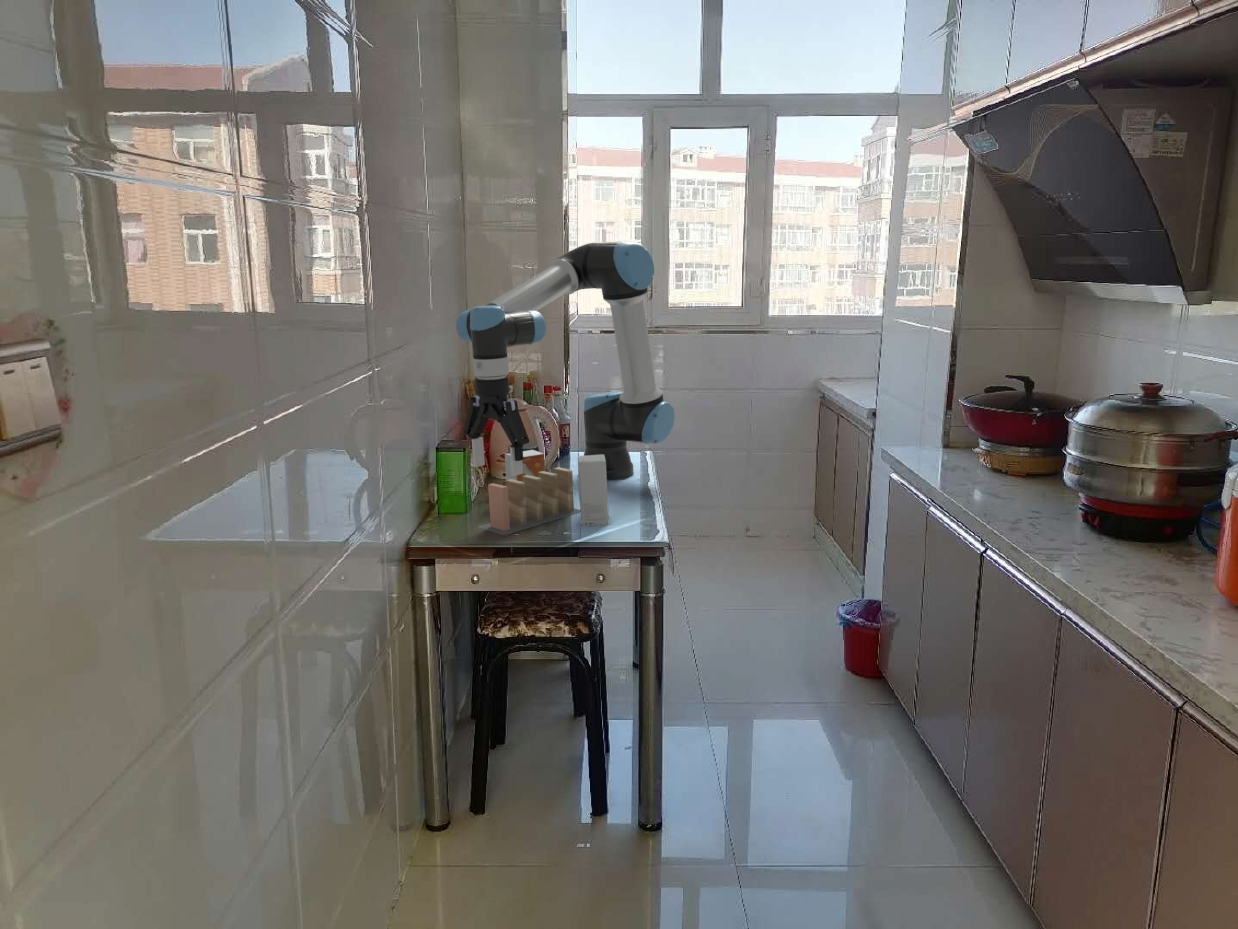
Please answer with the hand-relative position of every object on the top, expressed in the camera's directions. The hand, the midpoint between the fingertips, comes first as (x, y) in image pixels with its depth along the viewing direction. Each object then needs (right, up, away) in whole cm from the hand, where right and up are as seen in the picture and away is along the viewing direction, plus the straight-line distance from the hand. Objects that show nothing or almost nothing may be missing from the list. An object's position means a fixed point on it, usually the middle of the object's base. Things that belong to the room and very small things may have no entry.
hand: (497, 470), depth 210 cm
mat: (+7, -12, +10) cm, 17 cm away
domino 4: (+11, -10, +13) cm, 20 cm away
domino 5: (+14, -10, +17) cm, 24 cm away
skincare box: (+22, -12, +7) cm, 26 cm away
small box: (+4, -9, +25) cm, 27 cm away
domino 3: (+7, -11, +10) cm, 17 cm away
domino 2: (+4, -12, +6) cm, 14 cm away
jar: (+2, -6, +39) cm, 39 cm away
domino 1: (0, -13, +3) cm, 14 cm away
